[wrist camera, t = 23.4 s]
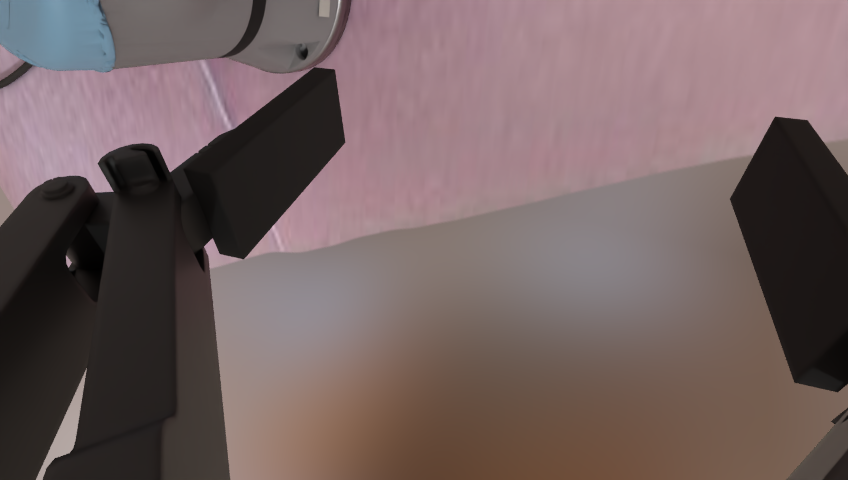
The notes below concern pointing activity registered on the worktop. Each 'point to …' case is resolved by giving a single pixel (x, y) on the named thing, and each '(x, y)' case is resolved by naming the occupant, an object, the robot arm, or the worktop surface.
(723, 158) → the worktop surface
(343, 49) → the worktop surface
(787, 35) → the worktop surface
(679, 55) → the worktop surface
